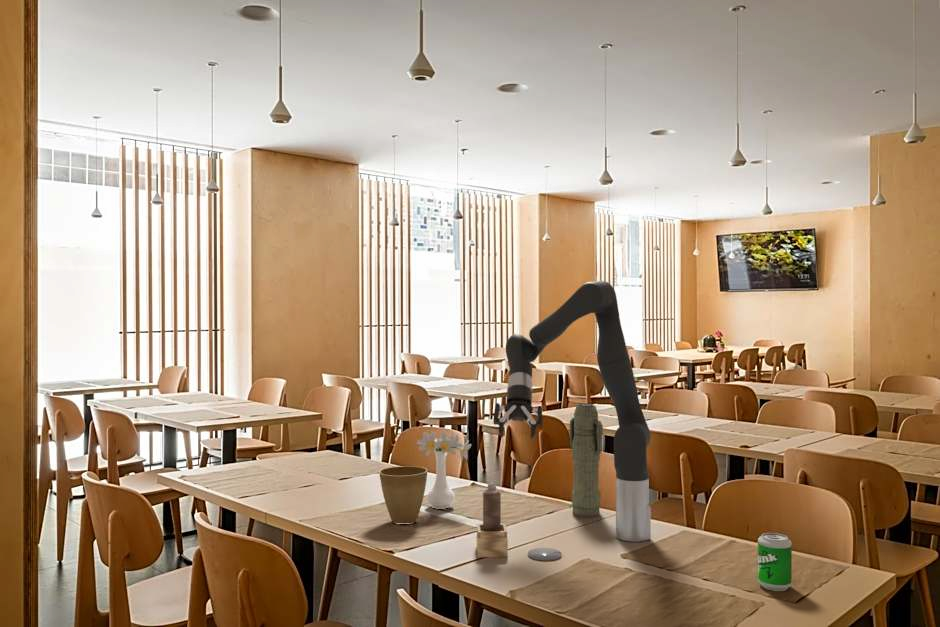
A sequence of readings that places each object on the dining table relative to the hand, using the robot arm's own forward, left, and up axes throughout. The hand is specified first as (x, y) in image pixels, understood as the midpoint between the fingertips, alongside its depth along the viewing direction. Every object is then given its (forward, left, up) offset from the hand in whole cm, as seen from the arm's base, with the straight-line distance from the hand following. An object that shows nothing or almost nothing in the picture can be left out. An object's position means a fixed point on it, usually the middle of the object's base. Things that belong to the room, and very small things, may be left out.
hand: (516, 436), depth 227 cm
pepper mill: (+8, +13, -24) cm, 29 cm away
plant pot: (+34, -17, -29) cm, 48 cm away
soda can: (-58, +41, -29) cm, 77 cm away
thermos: (-24, -25, -29) cm, 45 cm away
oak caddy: (+8, +13, -29) cm, 33 cm away
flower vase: (+22, -34, -29) cm, 50 cm away
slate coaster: (-6, +17, -29) cm, 34 cm away
